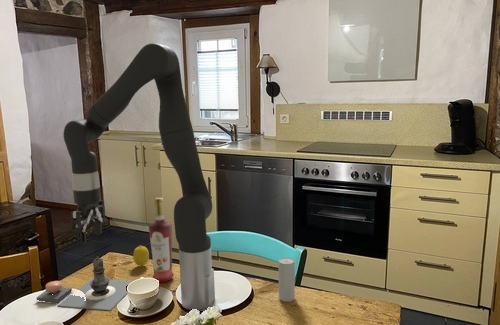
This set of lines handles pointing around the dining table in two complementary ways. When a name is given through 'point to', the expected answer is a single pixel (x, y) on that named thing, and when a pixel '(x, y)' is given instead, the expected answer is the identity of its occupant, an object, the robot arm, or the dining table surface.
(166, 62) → the robot arm
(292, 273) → the beverage can
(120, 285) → the slate board
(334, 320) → the dining table surface
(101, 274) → the chess piece
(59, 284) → the button
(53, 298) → the button housing
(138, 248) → the lemon
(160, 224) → the liquor
